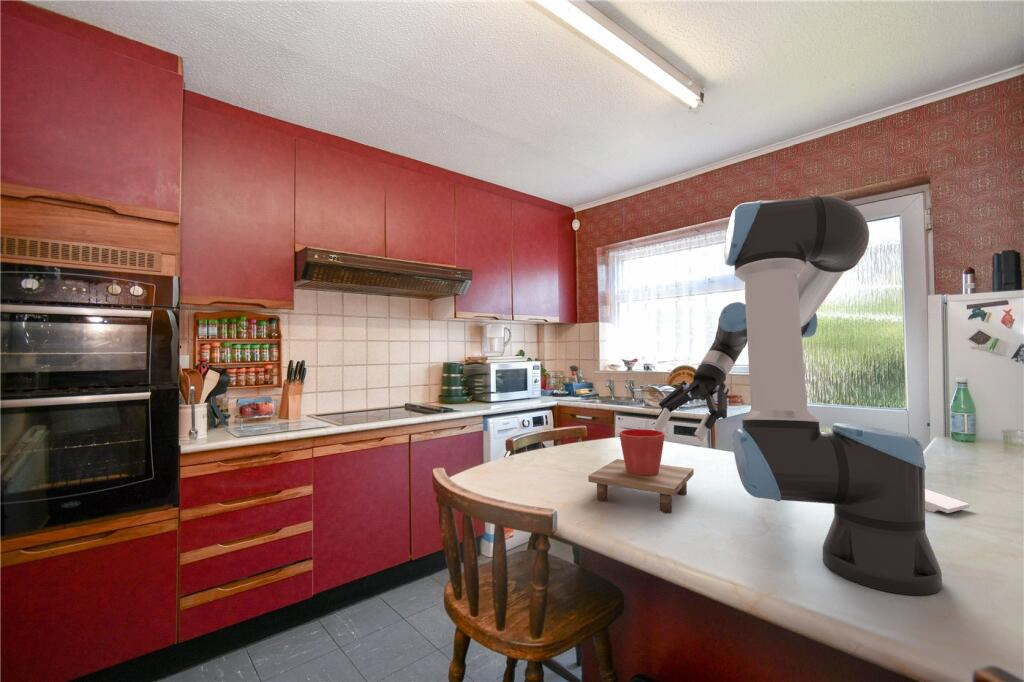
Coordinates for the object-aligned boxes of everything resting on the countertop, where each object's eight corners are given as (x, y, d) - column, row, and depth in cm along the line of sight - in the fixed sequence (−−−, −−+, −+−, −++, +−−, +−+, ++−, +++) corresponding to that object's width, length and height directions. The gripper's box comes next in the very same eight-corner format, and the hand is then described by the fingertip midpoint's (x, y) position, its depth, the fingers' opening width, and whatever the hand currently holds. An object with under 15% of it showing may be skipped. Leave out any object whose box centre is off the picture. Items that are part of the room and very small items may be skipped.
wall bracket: (964, 536, 104) (836, 485, 130) (973, 504, 104) (843, 460, 129) (940, 532, 100) (814, 481, 126) (950, 499, 100) (821, 455, 126)
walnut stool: (674, 516, 100) (674, 488, 100) (588, 500, 111) (588, 475, 111) (693, 492, 117) (693, 468, 117) (617, 480, 128) (617, 458, 128)
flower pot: (611, 468, 118) (611, 429, 118) (649, 464, 121) (648, 427, 121) (634, 479, 108) (633, 437, 108) (674, 475, 111) (673, 434, 111)
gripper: (763, 382, 117) (726, 450, 109) (683, 378, 139) (649, 435, 131) (748, 362, 114) (710, 431, 107) (670, 361, 136) (634, 418, 129)
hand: (676, 433), depth 119 cm, fingers open, 13 cm apart
